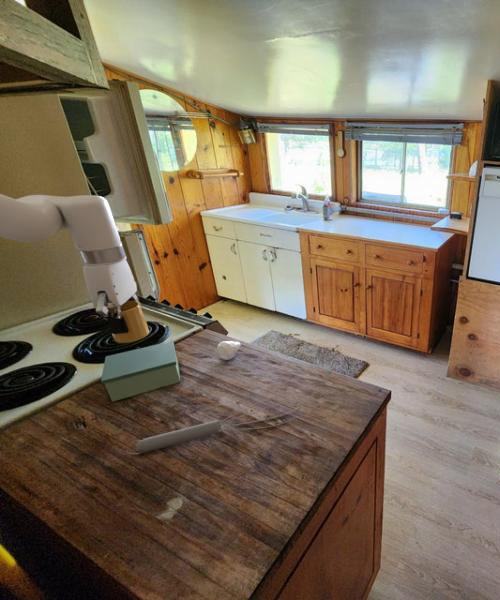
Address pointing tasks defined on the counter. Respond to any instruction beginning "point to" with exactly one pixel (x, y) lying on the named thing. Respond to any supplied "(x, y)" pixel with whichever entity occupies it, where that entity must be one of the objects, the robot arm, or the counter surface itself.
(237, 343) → the garlic bulb
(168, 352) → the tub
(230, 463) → the counter surface
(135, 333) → the cup
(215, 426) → the kitchen whisk
